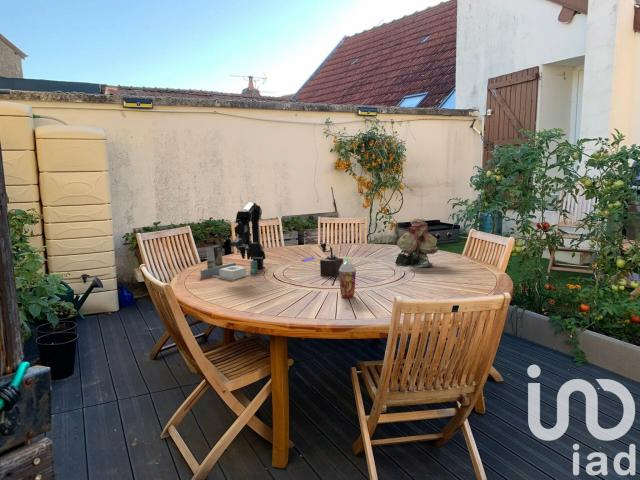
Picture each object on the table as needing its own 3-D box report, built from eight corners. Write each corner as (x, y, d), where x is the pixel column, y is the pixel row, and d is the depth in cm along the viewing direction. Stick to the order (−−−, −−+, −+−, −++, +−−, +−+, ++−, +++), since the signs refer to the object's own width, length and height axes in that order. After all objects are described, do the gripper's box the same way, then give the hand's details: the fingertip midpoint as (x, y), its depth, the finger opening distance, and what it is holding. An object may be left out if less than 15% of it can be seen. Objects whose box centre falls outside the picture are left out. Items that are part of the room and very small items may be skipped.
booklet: (330, 265, 290) (330, 264, 290) (300, 261, 305) (300, 260, 305) (340, 262, 300) (340, 261, 300) (311, 258, 315) (311, 257, 315)
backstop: (233, 270, 279) (233, 262, 278) (257, 274, 267) (257, 266, 266) (200, 278, 258) (200, 270, 258) (225, 283, 246) (224, 274, 245)
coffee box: (216, 273, 272) (215, 247, 269) (207, 272, 274) (205, 247, 271) (223, 269, 281) (222, 245, 278) (214, 269, 282) (213, 244, 280)
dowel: (254, 273, 270) (253, 260, 269) (258, 273, 267) (258, 261, 266) (249, 274, 267) (248, 261, 265) (254, 275, 264) (253, 262, 263)
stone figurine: (393, 267, 278) (393, 220, 274) (402, 258, 305) (403, 216, 301) (434, 270, 269) (435, 221, 264) (440, 261, 296) (441, 216, 291)
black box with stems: (344, 273, 265) (344, 244, 262) (334, 277, 256) (334, 246, 253) (323, 270, 273) (322, 242, 271) (312, 274, 264) (312, 244, 262)
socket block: (233, 273, 268) (233, 265, 268) (246, 275, 262) (245, 267, 261) (219, 277, 260) (219, 269, 259) (232, 279, 253) (232, 271, 252)
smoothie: (338, 294, 219) (337, 255, 216) (354, 294, 220) (354, 254, 217) (340, 299, 211) (339, 258, 208) (357, 298, 212) (357, 258, 209)
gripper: (222, 233, 249) (224, 259, 251) (246, 235, 238) (247, 263, 240) (237, 230, 258) (238, 256, 260) (260, 232, 247) (261, 260, 249)
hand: (245, 259), depth 252 cm, fingers open, 4 cm apart
